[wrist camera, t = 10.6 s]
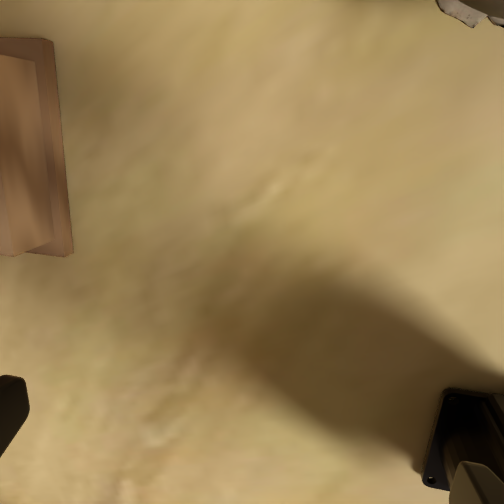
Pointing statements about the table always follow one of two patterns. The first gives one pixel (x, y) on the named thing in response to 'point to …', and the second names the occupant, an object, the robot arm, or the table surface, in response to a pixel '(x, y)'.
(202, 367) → the table surface
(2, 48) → the socket board
